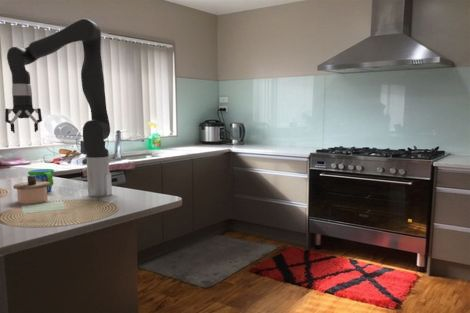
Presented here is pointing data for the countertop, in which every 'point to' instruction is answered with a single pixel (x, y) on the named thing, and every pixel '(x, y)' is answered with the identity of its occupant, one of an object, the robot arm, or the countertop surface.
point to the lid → (31, 184)
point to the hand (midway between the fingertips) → (24, 132)
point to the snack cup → (43, 176)
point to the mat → (43, 207)
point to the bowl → (32, 195)
